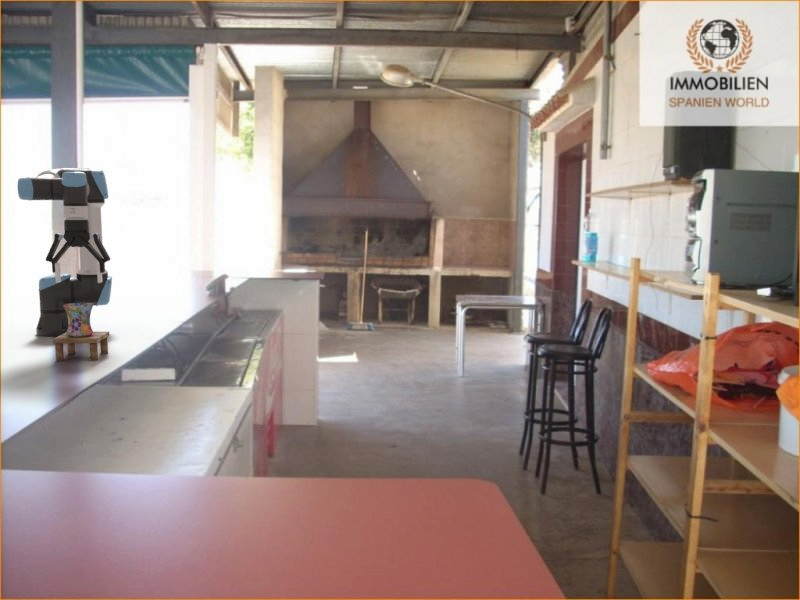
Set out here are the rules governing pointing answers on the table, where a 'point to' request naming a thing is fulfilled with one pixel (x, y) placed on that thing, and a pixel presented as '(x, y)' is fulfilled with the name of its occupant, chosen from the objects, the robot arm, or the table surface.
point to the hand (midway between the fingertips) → (79, 282)
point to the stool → (91, 339)
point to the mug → (78, 319)
